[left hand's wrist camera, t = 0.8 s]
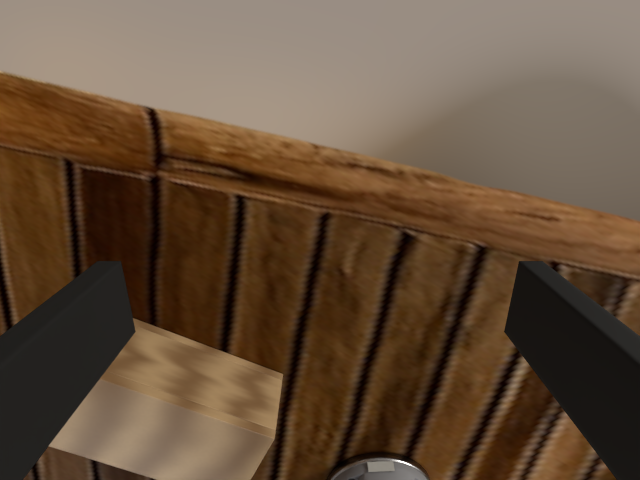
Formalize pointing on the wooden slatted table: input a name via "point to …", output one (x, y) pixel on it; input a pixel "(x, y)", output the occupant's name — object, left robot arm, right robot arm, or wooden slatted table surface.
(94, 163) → the wooden slatted table surface
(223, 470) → the cabinet
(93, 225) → the wooden slatted table surface
